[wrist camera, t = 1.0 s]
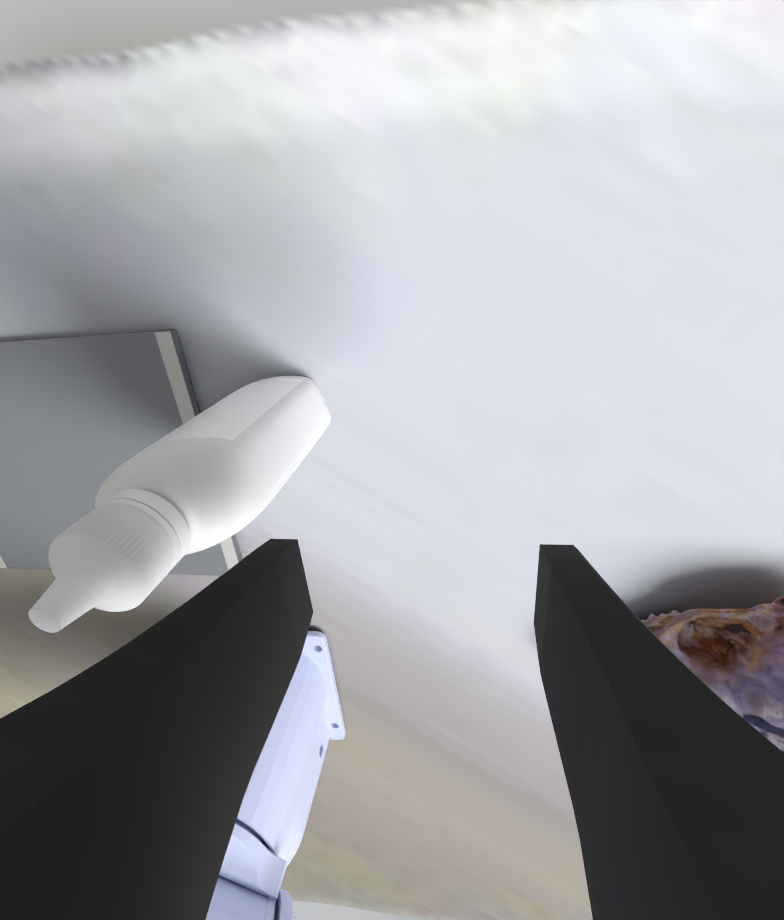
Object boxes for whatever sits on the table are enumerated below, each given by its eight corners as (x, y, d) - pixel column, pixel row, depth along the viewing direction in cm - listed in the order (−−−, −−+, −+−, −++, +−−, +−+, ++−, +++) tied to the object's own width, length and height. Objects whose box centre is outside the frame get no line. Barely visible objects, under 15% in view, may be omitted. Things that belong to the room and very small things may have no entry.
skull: (572, 681, 24) (604, 807, 19) (578, 572, 21) (618, 686, 16) (824, 689, 22) (943, 835, 16) (873, 569, 19) (1042, 701, 13)
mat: (246, 571, 24) (242, 576, 24) (3, 563, 27) (-3, 568, 26) (175, 329, 18) (169, 331, 18) (-122, 349, 21) (-133, 351, 21)
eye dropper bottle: (210, 358, 19) (-123, 506, 8) (336, 378, 18) (160, 565, 8) (216, 448, 21) (-44, 662, 10) (330, 469, 20) (184, 716, 10)
